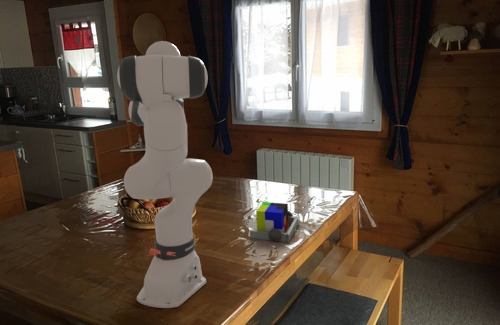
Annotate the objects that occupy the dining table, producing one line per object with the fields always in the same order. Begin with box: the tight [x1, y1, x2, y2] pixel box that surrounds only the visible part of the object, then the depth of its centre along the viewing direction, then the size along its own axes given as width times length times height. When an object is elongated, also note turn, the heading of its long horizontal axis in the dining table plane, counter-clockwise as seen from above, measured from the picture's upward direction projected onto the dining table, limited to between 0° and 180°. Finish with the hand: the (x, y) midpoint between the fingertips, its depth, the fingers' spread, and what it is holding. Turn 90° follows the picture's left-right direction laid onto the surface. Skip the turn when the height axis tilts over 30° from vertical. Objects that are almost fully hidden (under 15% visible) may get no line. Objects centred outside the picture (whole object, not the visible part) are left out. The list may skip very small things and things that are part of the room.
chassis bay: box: [249, 210, 300, 243], centre depth 167 cm, size 19×15×5 cm
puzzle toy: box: [255, 201, 289, 233], centre depth 167 cm, size 10×10×10 cm
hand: (172, 164), depth 159 cm, fingers closed
